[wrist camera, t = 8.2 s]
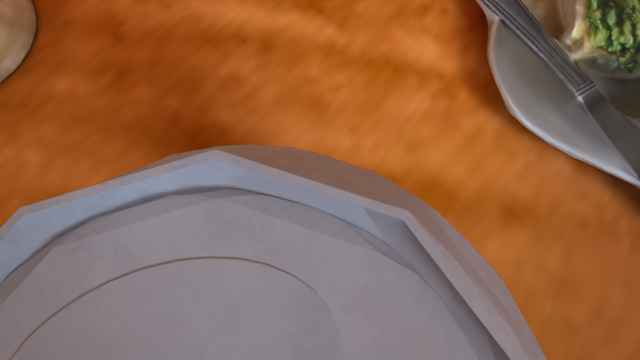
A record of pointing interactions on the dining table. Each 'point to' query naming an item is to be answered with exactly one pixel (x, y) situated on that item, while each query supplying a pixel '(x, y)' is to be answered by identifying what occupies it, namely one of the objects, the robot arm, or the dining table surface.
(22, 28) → the hand bell
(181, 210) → the beer can
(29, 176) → the dining table surface
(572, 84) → the avocado toast plate
